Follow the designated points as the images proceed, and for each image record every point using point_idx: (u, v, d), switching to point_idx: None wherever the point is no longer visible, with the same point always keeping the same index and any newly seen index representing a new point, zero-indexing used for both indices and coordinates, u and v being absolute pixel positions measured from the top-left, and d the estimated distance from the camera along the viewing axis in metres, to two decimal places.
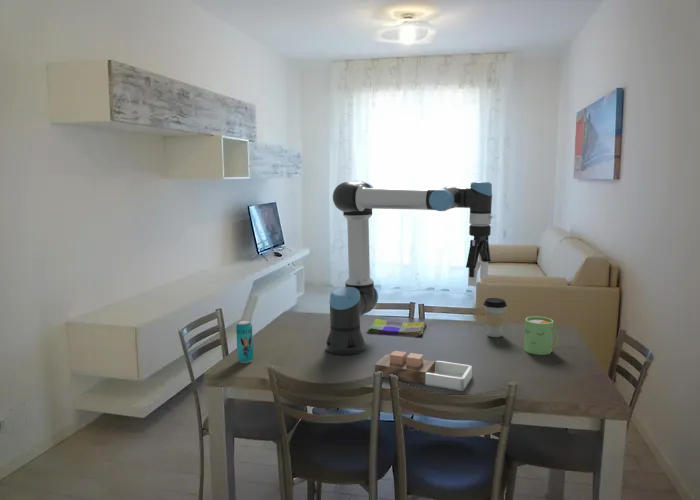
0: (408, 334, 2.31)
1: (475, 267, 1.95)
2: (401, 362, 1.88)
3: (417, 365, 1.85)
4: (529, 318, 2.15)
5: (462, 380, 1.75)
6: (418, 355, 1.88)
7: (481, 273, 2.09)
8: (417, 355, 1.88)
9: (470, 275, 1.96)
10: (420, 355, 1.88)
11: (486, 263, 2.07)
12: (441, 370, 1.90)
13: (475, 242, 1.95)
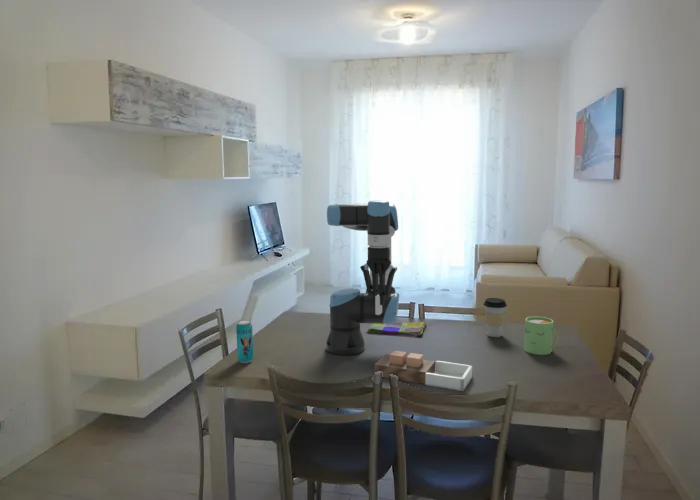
0: (408, 334, 2.31)
1: (374, 294, 1.89)
2: (401, 362, 1.88)
3: (417, 365, 1.85)
4: (529, 318, 2.15)
5: (462, 380, 1.75)
6: (418, 355, 1.88)
7: None
8: (417, 355, 1.88)
9: None
10: (420, 355, 1.88)
11: None
12: (441, 370, 1.90)
13: None
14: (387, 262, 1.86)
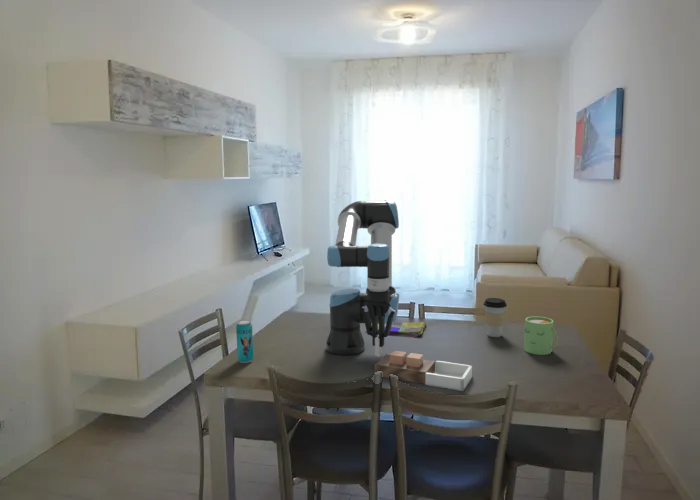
0: (408, 334, 2.31)
1: (373, 336, 1.92)
2: (401, 362, 1.88)
3: (417, 365, 1.85)
4: (529, 318, 2.15)
5: (462, 380, 1.75)
6: (418, 355, 1.88)
7: None
8: (417, 355, 1.88)
9: None
10: (420, 355, 1.88)
11: None
12: (441, 370, 1.90)
13: None
14: (386, 305, 1.88)
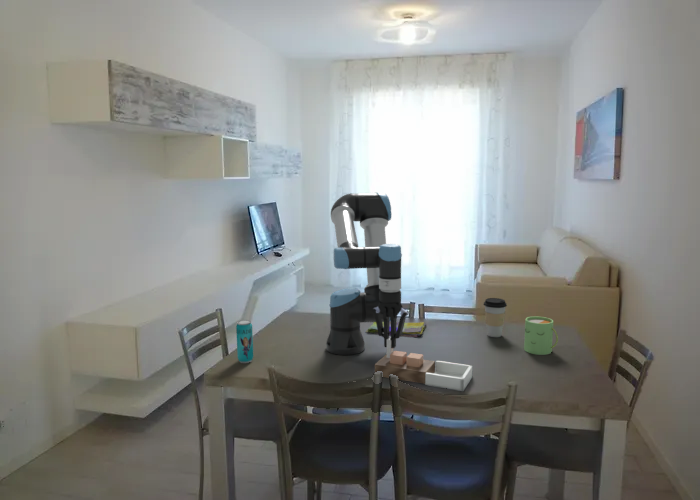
0: (408, 334, 2.31)
1: (385, 337, 1.90)
2: (401, 362, 1.88)
3: (417, 365, 1.85)
4: (529, 318, 2.15)
5: (462, 380, 1.75)
6: (418, 355, 1.88)
7: None
8: (417, 355, 1.88)
9: None
10: (420, 355, 1.88)
11: None
12: (441, 370, 1.90)
13: None
14: (398, 306, 1.86)
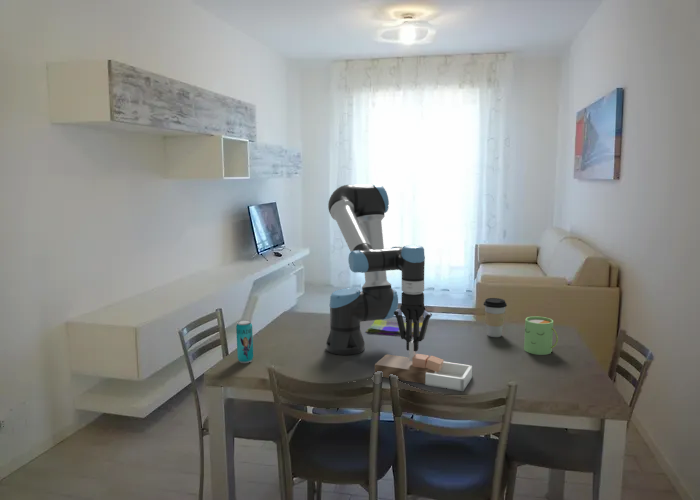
0: None
1: (407, 340, 1.86)
2: (424, 365, 1.84)
3: (436, 370, 1.83)
4: (529, 318, 2.15)
5: (462, 380, 1.75)
6: (439, 359, 1.85)
7: None
8: (438, 359, 1.85)
9: None
10: (441, 360, 1.85)
11: None
12: (441, 370, 1.90)
13: None
14: (421, 308, 1.83)
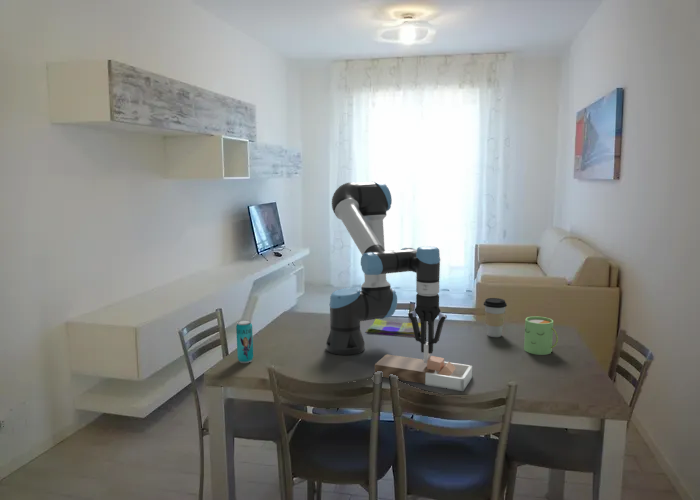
0: (407, 334, 2.31)
1: (422, 342, 1.84)
2: (439, 368, 1.82)
3: None
4: (529, 318, 2.15)
5: (462, 380, 1.75)
6: None
7: None
8: None
9: None
10: None
11: None
12: None
13: None
14: (437, 310, 1.81)
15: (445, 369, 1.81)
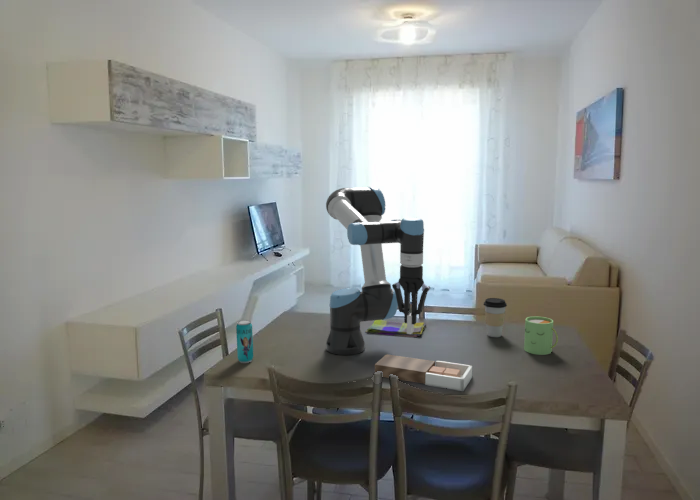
0: (407, 334, 2.31)
1: (405, 313, 1.86)
2: None
3: (445, 374, 1.82)
4: (529, 318, 2.15)
5: (462, 380, 1.75)
6: None
7: None
8: None
9: None
10: None
11: None
12: None
13: None
14: (420, 281, 1.82)
15: (454, 376, 1.81)
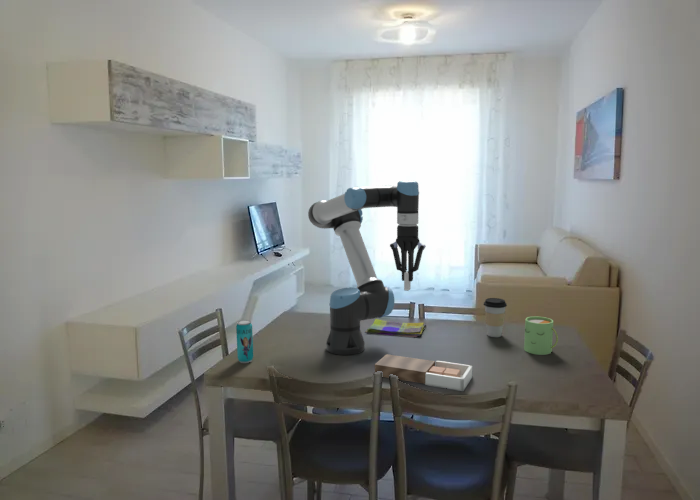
0: (407, 334, 2.31)
1: (402, 271, 1.98)
2: None
3: (445, 374, 1.82)
4: (529, 318, 2.15)
5: (462, 380, 1.75)
6: None
7: None
8: None
9: None
10: None
11: None
12: None
13: None
14: (416, 240, 1.95)
15: (454, 376, 1.81)
